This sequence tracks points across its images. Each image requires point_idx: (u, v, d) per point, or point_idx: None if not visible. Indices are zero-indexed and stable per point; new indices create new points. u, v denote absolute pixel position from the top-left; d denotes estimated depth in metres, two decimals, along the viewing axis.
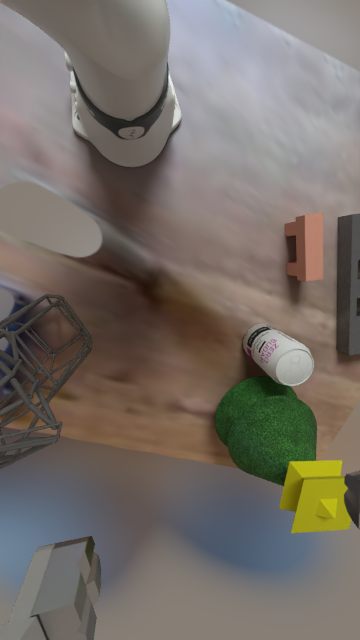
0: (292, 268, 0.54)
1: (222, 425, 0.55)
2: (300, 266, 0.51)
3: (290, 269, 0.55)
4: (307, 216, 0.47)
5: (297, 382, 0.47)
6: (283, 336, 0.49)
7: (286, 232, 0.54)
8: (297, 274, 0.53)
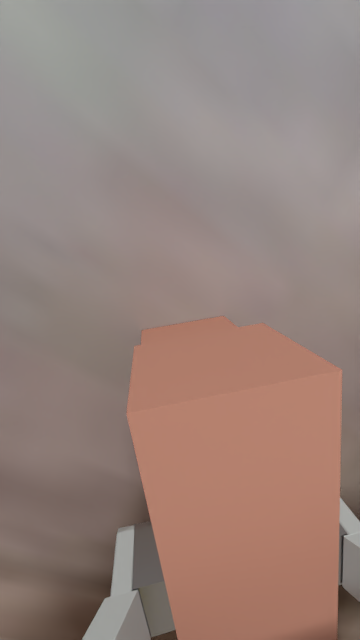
0: None
1: None
2: None
3: None
4: (163, 421, 0.04)
5: None
6: None
7: None
8: None
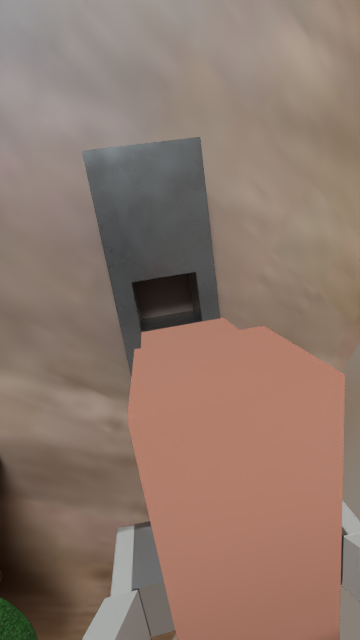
0: None
1: None
2: None
3: None
4: (164, 428, 0.04)
5: None
6: None
7: None
8: None
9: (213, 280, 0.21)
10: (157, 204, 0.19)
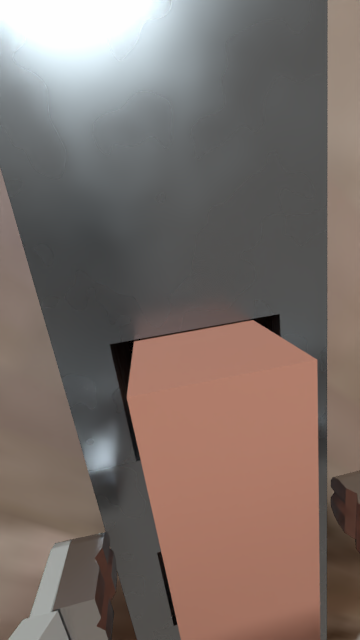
0: None
1: None
2: None
3: None
4: (159, 405, 0.05)
5: None
6: None
7: None
8: None
9: (320, 334, 0.08)
10: (185, 121, 0.06)
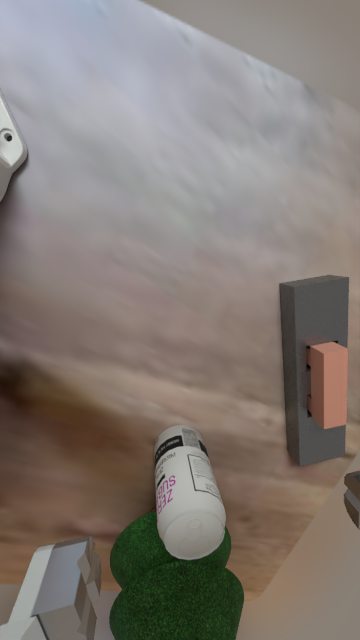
0: None
1: (117, 576, 0.39)
2: (316, 406, 0.39)
3: None
4: (327, 354, 0.35)
5: (201, 553, 0.31)
6: (188, 471, 0.33)
7: None
8: (311, 411, 0.41)
9: (345, 344, 0.39)
10: (324, 309, 0.37)
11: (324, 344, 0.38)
